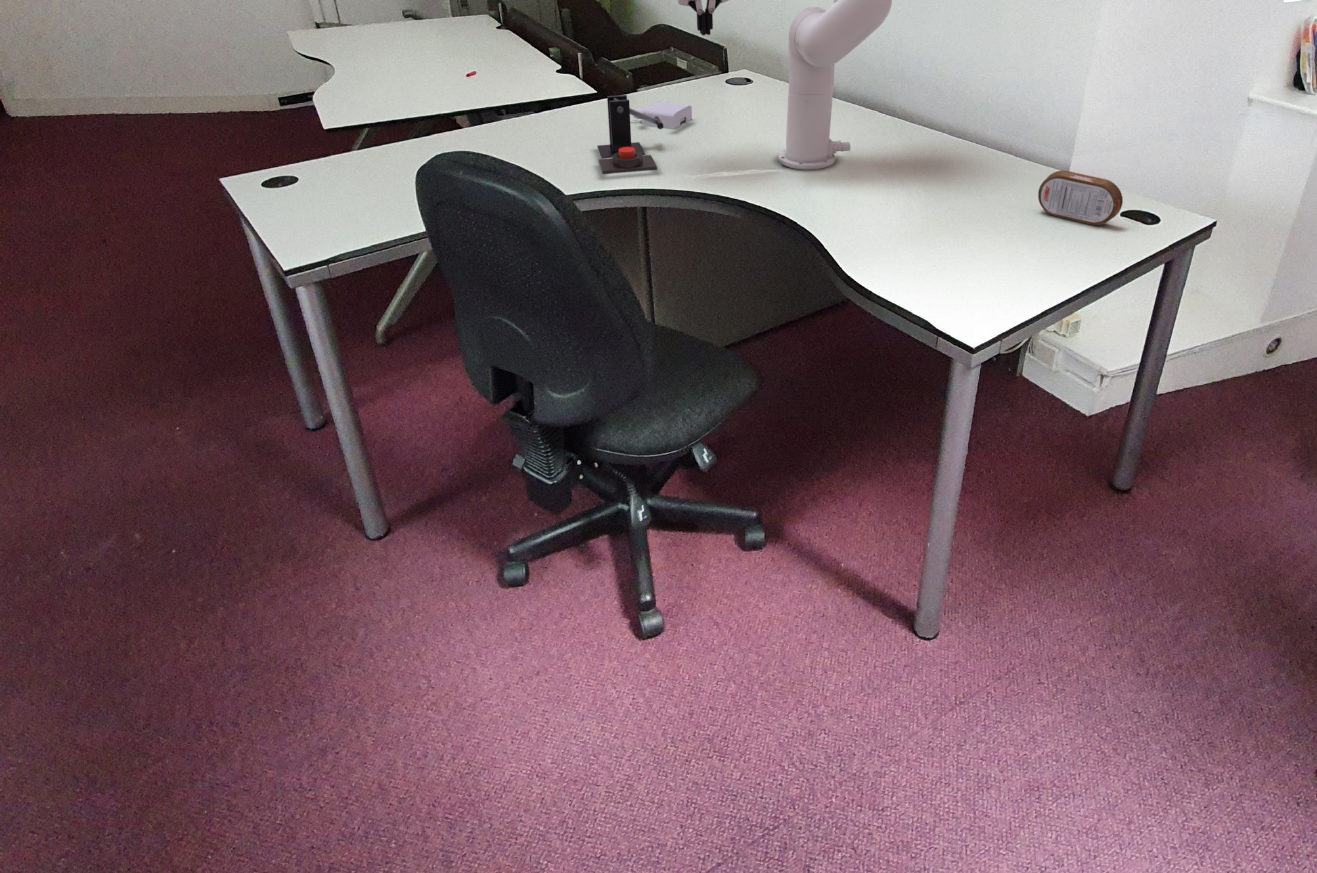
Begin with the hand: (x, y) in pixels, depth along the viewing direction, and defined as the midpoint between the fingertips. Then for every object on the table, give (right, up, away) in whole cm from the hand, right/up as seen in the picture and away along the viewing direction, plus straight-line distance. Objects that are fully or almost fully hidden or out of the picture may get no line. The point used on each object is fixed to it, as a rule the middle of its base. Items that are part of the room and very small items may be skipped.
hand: (705, 33), depth 193 cm
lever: (-15, -11, +20) cm, 27 cm away
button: (-16, -22, +13) cm, 30 cm away
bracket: (-18, -18, +24) cm, 35 cm away
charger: (-10, -5, +43) cm, 44 cm away
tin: (+69, -42, -15) cm, 83 cm away
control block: (-16, -24, +15) cm, 33 cm away
